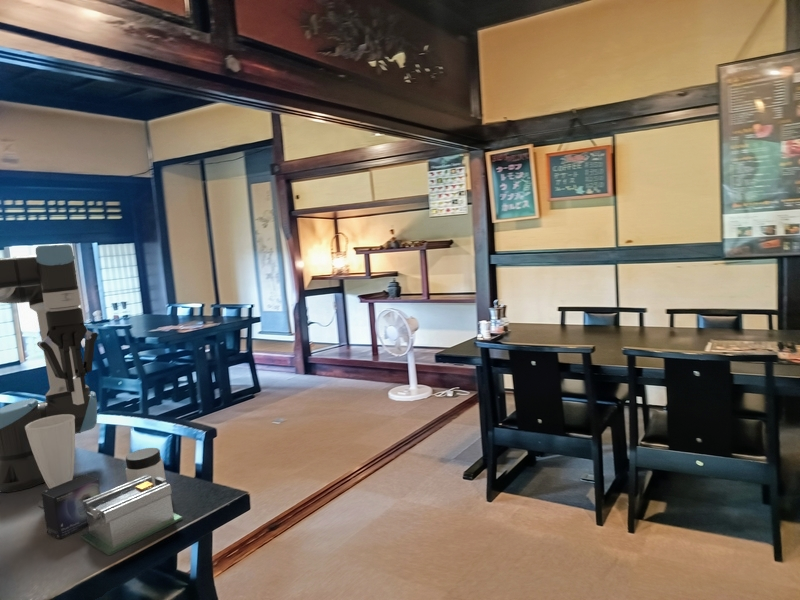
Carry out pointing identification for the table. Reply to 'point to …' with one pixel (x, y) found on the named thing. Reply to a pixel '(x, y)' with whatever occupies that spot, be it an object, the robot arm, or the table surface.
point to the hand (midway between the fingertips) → (78, 403)
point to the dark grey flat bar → (117, 500)
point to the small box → (68, 505)
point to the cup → (53, 448)
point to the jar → (144, 464)
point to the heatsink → (130, 515)
